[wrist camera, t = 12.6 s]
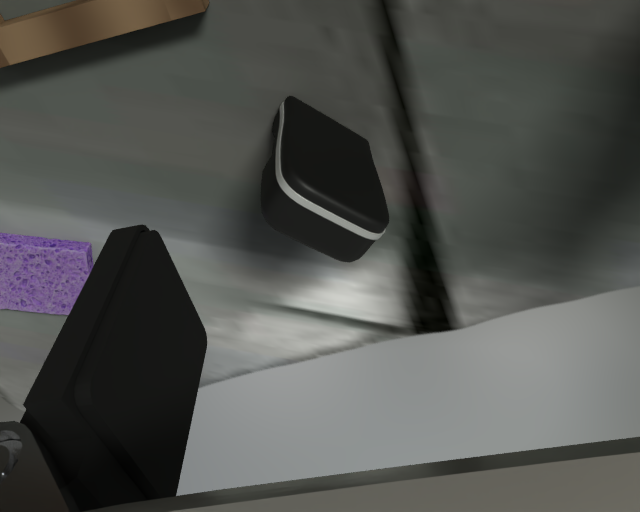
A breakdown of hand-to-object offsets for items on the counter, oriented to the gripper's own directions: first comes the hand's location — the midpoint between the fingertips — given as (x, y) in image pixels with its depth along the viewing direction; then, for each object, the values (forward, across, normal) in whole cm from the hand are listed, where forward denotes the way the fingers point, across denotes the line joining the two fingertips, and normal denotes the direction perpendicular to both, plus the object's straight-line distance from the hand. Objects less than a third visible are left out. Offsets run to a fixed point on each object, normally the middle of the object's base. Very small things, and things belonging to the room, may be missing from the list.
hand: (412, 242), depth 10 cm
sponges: (+26, +30, +16) cm, 43 cm away
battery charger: (+27, +4, +10) cm, 29 cm away
